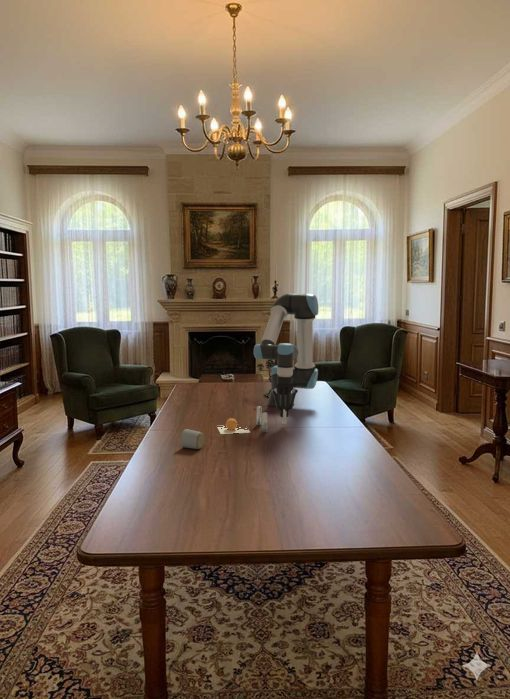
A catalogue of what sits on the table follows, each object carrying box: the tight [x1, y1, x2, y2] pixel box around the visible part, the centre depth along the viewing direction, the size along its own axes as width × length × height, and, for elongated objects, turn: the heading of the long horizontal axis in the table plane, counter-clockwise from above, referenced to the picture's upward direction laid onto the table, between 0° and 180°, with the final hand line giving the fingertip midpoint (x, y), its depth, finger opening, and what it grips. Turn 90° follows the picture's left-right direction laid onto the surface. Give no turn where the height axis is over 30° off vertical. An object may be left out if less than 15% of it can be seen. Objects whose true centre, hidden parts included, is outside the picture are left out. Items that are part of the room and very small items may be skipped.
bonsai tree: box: [252, 352, 277, 397], centre depth 311 cm, size 35×24×32 cm
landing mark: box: [216, 425, 251, 435], centre depth 239 cm, size 14×14×1 cm
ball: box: [225, 418, 238, 430], centre depth 238 cm, size 6×6×6 cm
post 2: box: [261, 411, 269, 433], centre depth 236 cm, size 2×2×9 cm
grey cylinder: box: [179, 428, 205, 450], centre depth 212 cm, size 11×8×8 cm
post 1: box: [256, 405, 263, 426], centre depth 248 cm, size 2×2×9 cm
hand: (283, 423), depth 244 cm, fingers closed
